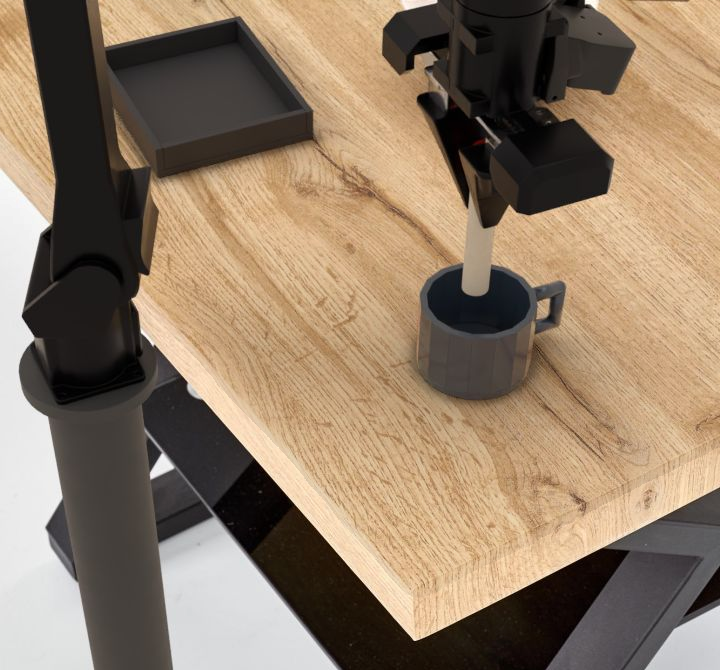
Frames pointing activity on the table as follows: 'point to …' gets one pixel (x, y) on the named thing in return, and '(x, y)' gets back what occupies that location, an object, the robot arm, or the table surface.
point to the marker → (477, 252)
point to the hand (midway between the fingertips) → (481, 216)
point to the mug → (481, 331)
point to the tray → (204, 96)
